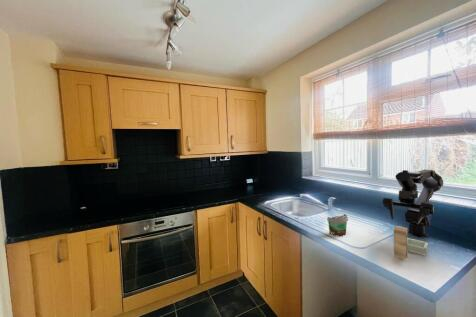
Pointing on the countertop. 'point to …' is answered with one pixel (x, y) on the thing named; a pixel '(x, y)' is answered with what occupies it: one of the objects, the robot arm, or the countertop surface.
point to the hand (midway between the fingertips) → (404, 221)
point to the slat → (400, 242)
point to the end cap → (417, 246)
